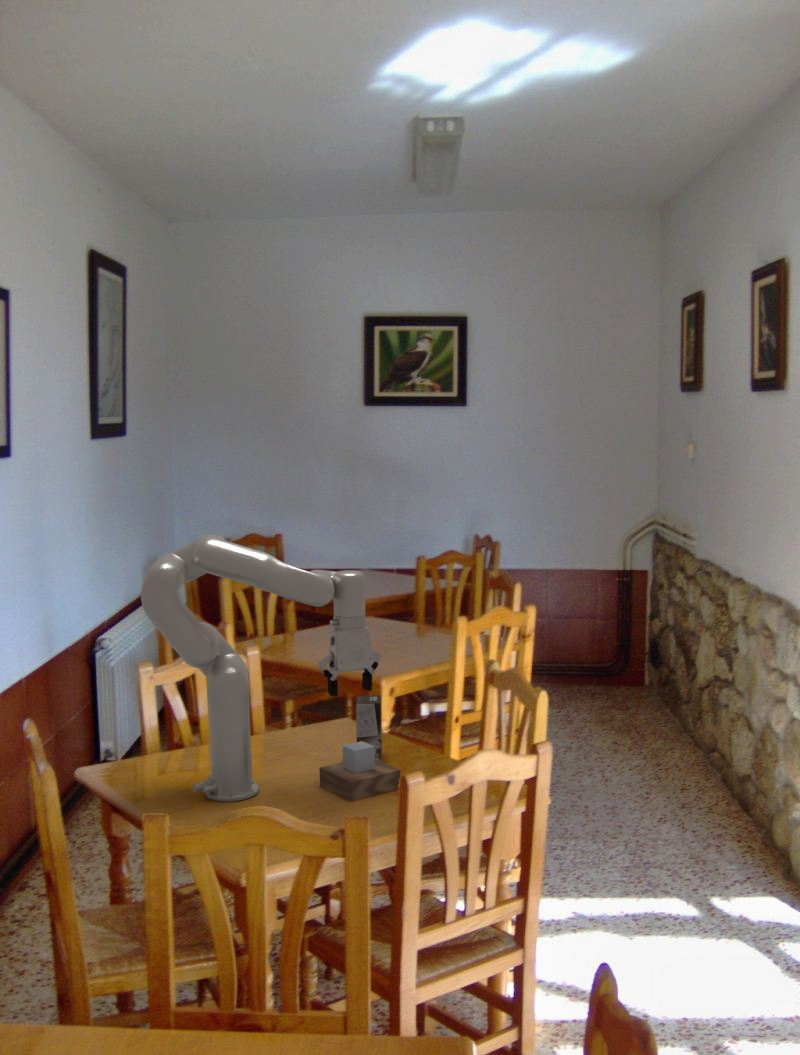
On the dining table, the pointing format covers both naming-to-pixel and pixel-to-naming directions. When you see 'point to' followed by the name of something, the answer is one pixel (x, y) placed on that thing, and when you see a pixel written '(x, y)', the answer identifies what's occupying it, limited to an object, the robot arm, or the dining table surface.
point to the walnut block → (359, 780)
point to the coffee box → (369, 722)
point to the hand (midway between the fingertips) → (350, 692)
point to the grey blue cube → (358, 757)
